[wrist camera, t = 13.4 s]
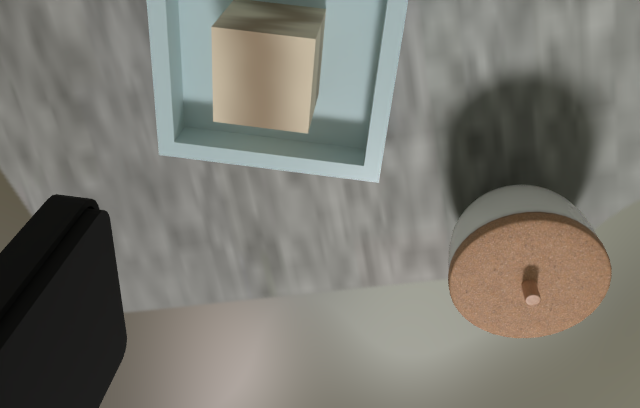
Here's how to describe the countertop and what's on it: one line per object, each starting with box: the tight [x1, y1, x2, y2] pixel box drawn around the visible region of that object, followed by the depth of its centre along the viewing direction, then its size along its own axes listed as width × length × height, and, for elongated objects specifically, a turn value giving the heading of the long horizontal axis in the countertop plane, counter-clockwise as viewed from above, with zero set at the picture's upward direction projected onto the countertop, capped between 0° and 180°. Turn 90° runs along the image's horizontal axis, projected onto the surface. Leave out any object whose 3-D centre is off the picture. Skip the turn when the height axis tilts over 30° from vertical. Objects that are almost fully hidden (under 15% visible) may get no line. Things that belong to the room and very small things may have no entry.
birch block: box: [211, 0, 326, 134], centre depth 38 cm, size 6×6×6 cm
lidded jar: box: [448, 185, 611, 338], centre depth 43 cm, size 11×11×9 cm
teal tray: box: [147, 0, 408, 183], centre depth 40 cm, size 16×16×4 cm
